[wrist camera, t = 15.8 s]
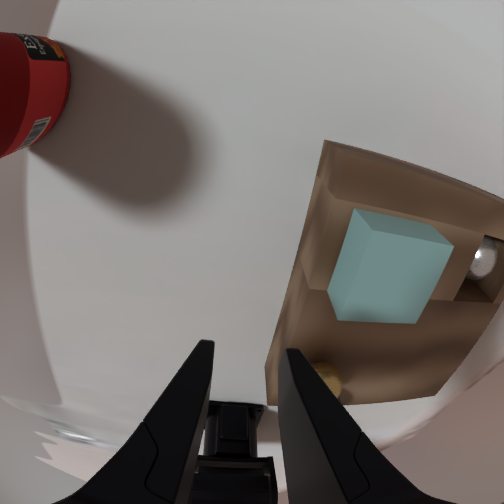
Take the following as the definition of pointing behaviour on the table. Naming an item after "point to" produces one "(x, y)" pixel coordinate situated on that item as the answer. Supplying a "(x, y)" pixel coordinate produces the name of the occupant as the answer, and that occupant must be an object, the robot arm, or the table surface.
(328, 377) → the brass ball
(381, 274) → the teal block
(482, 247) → the steel ball
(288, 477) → the robot arm
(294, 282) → the board
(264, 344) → the table surface
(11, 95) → the canned food
